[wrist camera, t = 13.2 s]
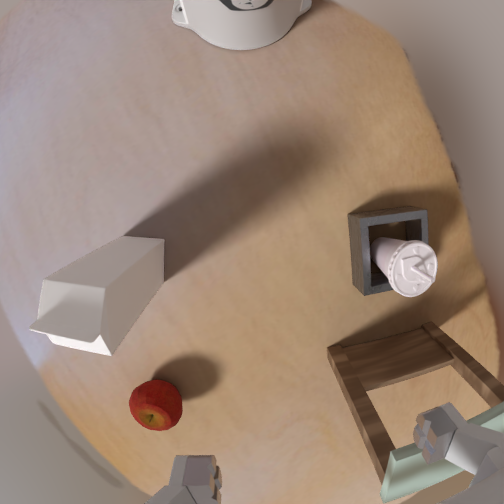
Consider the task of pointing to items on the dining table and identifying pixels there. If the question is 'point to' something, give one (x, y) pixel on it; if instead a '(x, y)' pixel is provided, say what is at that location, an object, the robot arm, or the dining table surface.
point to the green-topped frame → (396, 370)
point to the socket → (361, 250)
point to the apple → (156, 405)
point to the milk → (101, 294)
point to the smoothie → (405, 264)
